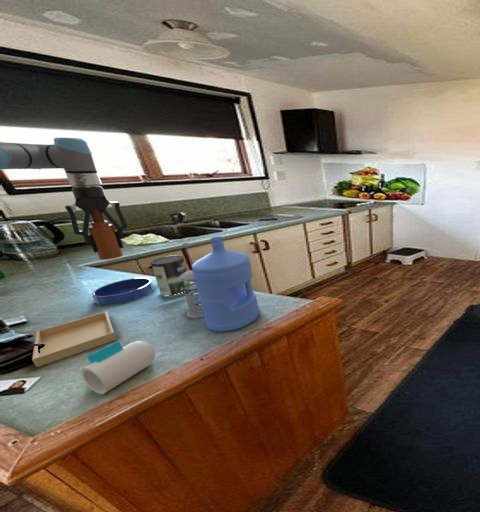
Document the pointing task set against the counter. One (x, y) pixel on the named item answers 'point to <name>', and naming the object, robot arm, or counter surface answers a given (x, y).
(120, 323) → the counter surface
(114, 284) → the bowl
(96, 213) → the bottle
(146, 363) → the mug
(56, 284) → the counter surface
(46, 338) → the tray
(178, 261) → the coffee can
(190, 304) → the french press
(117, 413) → the counter surface
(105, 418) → the counter surface
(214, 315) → the water jug
